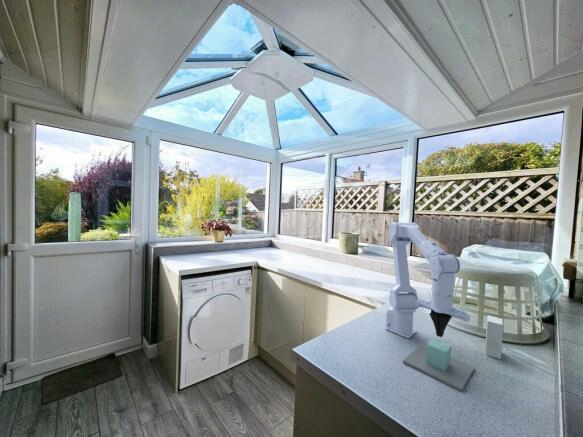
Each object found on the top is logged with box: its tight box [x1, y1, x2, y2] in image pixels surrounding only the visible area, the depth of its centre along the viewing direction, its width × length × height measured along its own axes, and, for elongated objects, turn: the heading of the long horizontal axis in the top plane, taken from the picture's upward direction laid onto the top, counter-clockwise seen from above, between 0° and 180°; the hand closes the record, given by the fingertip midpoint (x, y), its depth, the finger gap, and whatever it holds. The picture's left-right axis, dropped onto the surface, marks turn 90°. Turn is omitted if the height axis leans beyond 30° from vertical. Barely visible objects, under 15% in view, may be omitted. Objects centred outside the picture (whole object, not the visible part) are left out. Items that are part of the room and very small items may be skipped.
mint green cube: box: [426, 338, 452, 371], centre depth 77 cm, size 5×5×6 cm
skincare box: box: [484, 315, 504, 360], centre depth 85 cm, size 6×4×12 cm
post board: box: [402, 344, 476, 393], centre depth 77 cm, size 16×14×6 cm
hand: (439, 335), depth 77 cm, fingers closed
